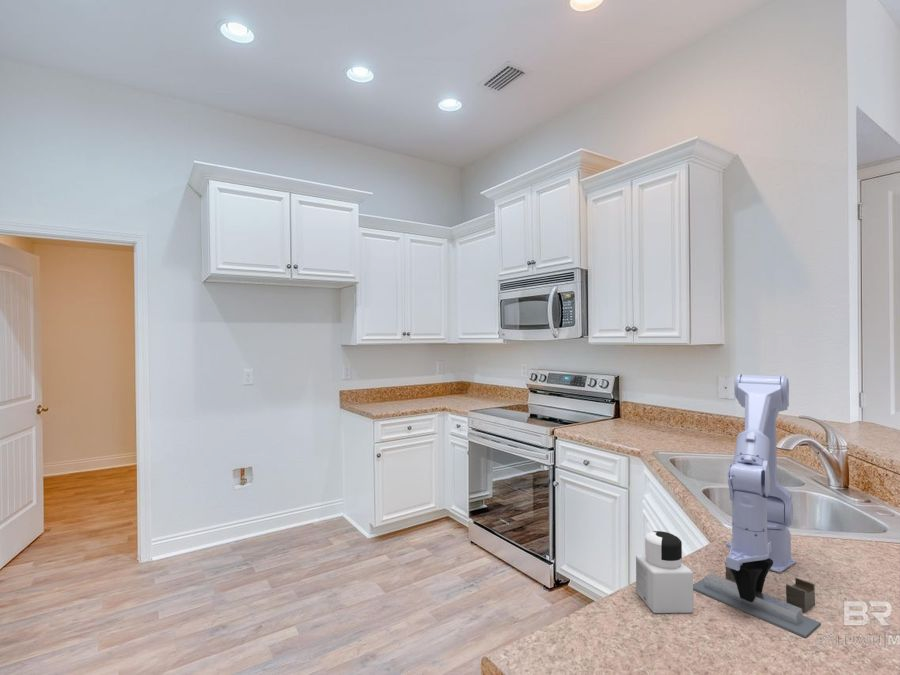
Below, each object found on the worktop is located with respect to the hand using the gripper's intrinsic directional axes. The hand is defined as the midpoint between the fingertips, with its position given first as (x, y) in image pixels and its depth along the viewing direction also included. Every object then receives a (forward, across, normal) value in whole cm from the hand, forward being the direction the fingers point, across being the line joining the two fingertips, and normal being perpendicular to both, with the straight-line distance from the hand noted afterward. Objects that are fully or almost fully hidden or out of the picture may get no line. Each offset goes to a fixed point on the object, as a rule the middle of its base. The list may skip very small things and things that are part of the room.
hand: (750, 597), depth 89 cm
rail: (+1, 0, 0) cm, 1 cm away
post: (+2, -8, +6) cm, 10 cm away
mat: (+2, 0, 0) cm, 2 cm away
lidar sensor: (+2, +13, -10) cm, 16 cm away
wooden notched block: (+2, -8, -6) cm, 10 cm away
